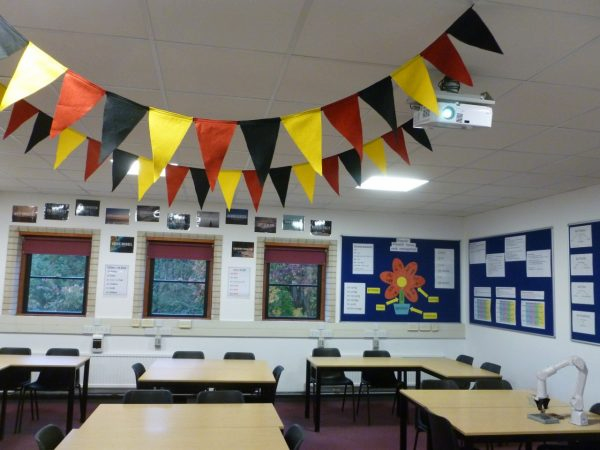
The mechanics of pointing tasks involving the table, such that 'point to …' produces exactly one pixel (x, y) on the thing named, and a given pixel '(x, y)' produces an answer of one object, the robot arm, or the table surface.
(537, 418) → the tray
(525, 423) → the table surface
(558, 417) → the holder
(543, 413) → the pin
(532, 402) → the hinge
